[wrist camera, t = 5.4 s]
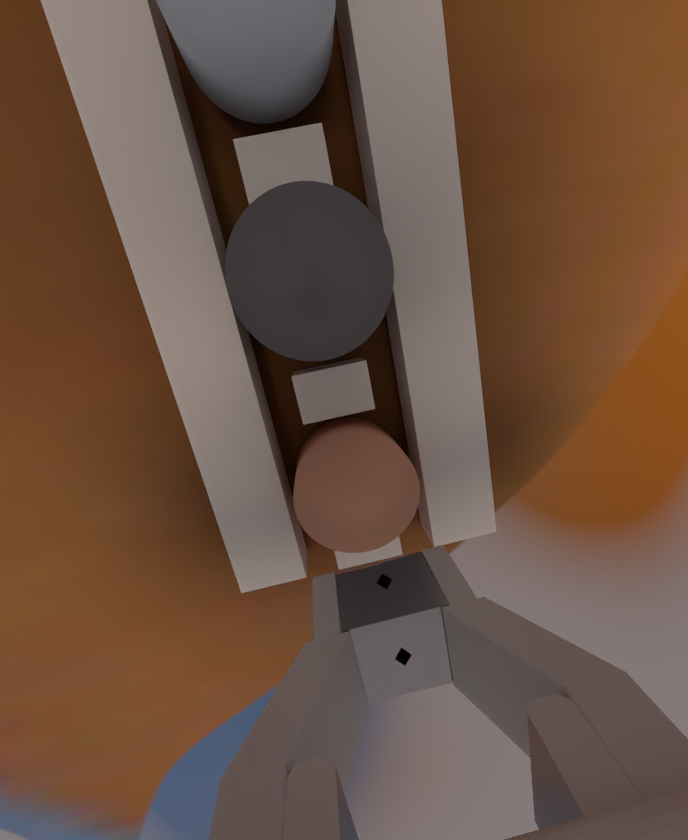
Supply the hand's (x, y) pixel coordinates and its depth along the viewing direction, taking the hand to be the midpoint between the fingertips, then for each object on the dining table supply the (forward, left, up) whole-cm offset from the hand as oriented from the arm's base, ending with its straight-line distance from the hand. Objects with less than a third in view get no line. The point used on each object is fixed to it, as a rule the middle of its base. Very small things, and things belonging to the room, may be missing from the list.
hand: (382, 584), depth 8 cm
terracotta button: (+1, 0, -9) cm, 9 cm away
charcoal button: (-7, 0, -7) cm, 10 cm away
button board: (-7, 0, -9) cm, 11 cm away
